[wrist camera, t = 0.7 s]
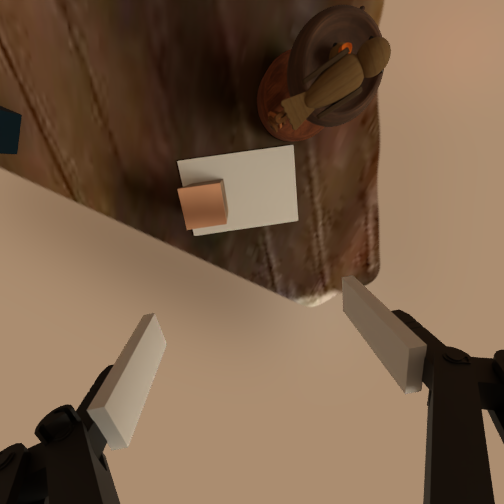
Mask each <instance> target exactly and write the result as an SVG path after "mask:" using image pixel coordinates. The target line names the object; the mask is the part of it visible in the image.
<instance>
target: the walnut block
mask: <svg viewBox="0 0 504 504" xmlns="http://www.w3.org/2000/svg"><path fill="white" fill-rule="evenodd" d="M177 190H178V194H179V198H180V202H181V206H182V211H183V215H184V219H185V223H186V227H187V230H190V229H197V228H204V227H210V226H217V225H224V224H227V218H228V211H229V210H228V204H227V198H226V192H225V186H224V180H223V179H219V180H212V181H205V182H198V183H191V184H189V185H186V186H184V187H181V188H179V189H177Z"/></svg>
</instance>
